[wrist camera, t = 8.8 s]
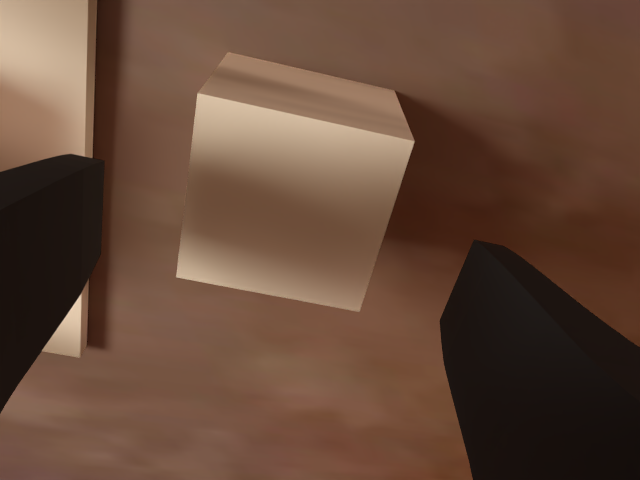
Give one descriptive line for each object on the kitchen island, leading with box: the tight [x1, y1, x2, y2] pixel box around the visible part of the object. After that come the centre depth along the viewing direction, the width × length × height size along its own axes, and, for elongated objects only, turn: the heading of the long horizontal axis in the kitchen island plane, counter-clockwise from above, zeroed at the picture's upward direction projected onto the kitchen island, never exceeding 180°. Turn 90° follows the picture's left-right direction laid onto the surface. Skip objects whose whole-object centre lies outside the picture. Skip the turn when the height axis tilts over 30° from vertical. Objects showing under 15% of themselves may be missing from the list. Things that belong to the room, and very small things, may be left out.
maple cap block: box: [176, 52, 415, 312], centre depth 14 cm, size 4×4×4 cm
